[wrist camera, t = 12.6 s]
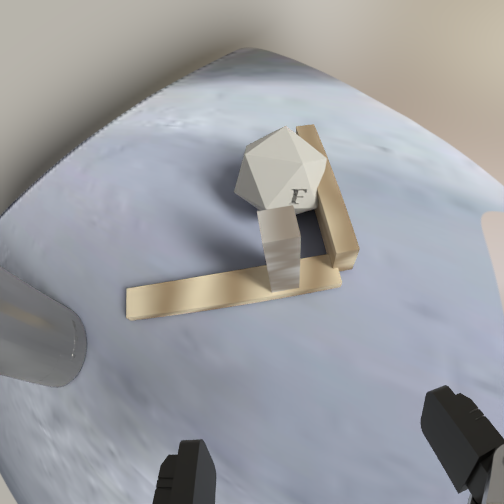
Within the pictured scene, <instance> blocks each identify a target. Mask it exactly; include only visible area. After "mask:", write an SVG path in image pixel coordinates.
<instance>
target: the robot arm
mask: <svg viewBox="0 0 504 504" xmlns="http://www.w3.org/2000/svg"><path fill="white" fill-rule="evenodd" d="M86 347H87V341H86V333H85V329H84V326H83V324H82V321H81V319H80V318H79V317H78V315H77V314H76V313H75V312H73V311H72V310H71V309H69V308H67V307H65V306H64V305H62V304H60V303H58V302H57V301H55V300H53V299H52V298H50V297H48V296H47V295H45V294H43V293H42V292H40V291H38V290H37V289H35V288H33V287H32V286H30V285H29V284H27V283H25V282H24V281H22V280H21V279H19V278H18V277H16V276H15V275H13V274H12V273H10V272H8V271H7V270H5V269H4V268H3V267H1V266H0V375H4V376H7V377H11V378H15V379H19V380H23V381H27V382H31V383H35V384H39V385H44V386H49V387H62V386H65V385H67V384H68V383H70V382H71V381H72V380H73V379H74V378H75V377H76V376H77V374H78V373H79V372H80V370H81V368H82V365H83V363H84V359H85V355H86ZM421 428H422V432H423V434H424V436H425V437H426V439H427V441H428V442H429V444H430V446H431V447H432V449H433V451H434V452H435V454H436V456H437V457H438V459H439V461H440V462H441V464H442V466H443V468H444V469H445V471H446V473H447V474H448V476H449V478H450V480H451V481H452V483H453V485H454V487H455V488H456V490H457V492H458V494H459V493H461V492H463V491H465V490H467V489H469V491H470V493H471V494H470V496H469V499H468V503H467V504H504V439H503V437H502V436H501V435H500V434H499V432H498V431H497V430H496V429H495V427H494V426H493V425H492V424H491V422H490V421H489V420H488V419H487V418H486V416H485V417H484V414H483V413H482V412H481V410H480V409H478V407H477V406H476V404H475V403H474V402H473V401H472V400H471V399H470V398H468V397H466V396H464V395H463V394H461V393H459V394H457V395H455V394H454V393H453V391H452V390H451V389H450V388H449V387H448V386H446V385H444V386H442V387H439V388H437V389H434V390H431V391H429V392H427V394H426V397H425V402H424V407H423V412H422V416H421ZM215 491H216V470H215V465H214V463H213V460H212V458H211V456H210V454H209V451H208V449H207V447H206V445H205V442H204V441H203V440H202V439H200V440H182V441H181V442H180V445H179V450H178V455H168V456H167V458H166V459H165V460H164V462H163V463H162V465H161V467H160V471H159V476H158V480H157V485H156V490H155V494H154V499H153V504H215Z"/></svg>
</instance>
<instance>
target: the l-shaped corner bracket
mask: <svg viewBox="0 0 504 504" xmlns="http://www.w3.org/2000/svg"><path fill="white" fill-rule="evenodd" d="M296 134H297V135H298V136H300V137H301V138H302V139H303V140H305V141H306V142H307V143H309V144H310V145H311V146H312V147H314V148H315V149H316V150H317V151H318V152H320V153H321V154H322V155H323V156H325V157H326V158H327V155H326V153H325V150H324V148H323V145H322V143H321V140H320V138H319V135H318V133H317V131H316V128H315V126H314V124H313V125H305V126H297V127H296ZM317 192H318V207H317V208H316V209H314V210H315V213H316V217H317V220H318V224H319V228H320V231H321V235H322V238H323V242H324V246H325V249H326V253H327V254H325V255H319V256H314V257H308V258H303V259H300V252H301V235H300V231H299V227H298V223H297V218H296V214H295V210H294V207H293V205H291V206H285V207H279V208H273V209H268V210H262V211H257V215H258V221H259V227H260V232H261V238H262V244H263V249H264V254H265V259H266V264H267V265H263V266H258V267H252V268H246V269H240V270H235V271H229V272H223V273H217V274H211V275H206V276H200V277H194V278H188V279H182V280H176V281H170V282H164V283H158V284H151V285H145V286H139V287H133V288H127V297H126V318H128V319H129V320H131V321H132V320H140V319H148V318H156V317H164V316H171V315H178V314H185V313H192V312H199V311H206V310H213V309H219V308H226V307H232V306H238V305H244V304H250V303H256V302H262V301H268V300H274V299H280V298H285V297H291V296H296V295H302V294H307V293H312V292H317V291H323V290H328V289H333V288H338V287H341V285H342V280H341V277H340V273H339V271H344V270H350V269H352V268H353V265H354V263H355V260H356V258H357V255H358V252H359V250H360V249H359V246H358V242H357V239H356V236H355V233H354V230H353V227H352V224H351V221H350V218H349V215H348V212H347V209H346V206H345V204H344V201H343V198H342V195H341V192H340V190H339V187H338V184H337V181H336V179H335V176H334V173H333V171H332V168H331V165H330V163H329V160H328V158H327V161H326V167H325V171H324V174H323V176H322V178H321V181H320V183H319V185H318V187H317Z"/></svg>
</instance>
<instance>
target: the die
mask: <svg viewBox="0 0 504 504" xmlns="http://www.w3.org/2000/svg"><path fill="white" fill-rule="evenodd" d="M326 161H327V158H326V157H325V156H323V155H322V154H321V153H320V152H318V151H317V150H316V149H315V148H314V147H312V146H311V145H310V144H309V143H307V142H306V141H305V140H303V139H302V138H301V137H300V136H298V135H297V134H296V133H294V132H293V131H292V130H290V129H289V128H288V127H287V126H284V127H282V128H280V129H278V130H276V131H274V132H272V133H270V134H268V135H266V136H264V137H263V138H261V139H259V140H257V141H255V142H253V143H251V144H249V145H247V146H246V149H245V153H244V156H243V160H242V164H241V168H240V171H239V175H238V179H237V183H236V186H235V190H234V193H236V194H237V195H238V196H240V197H241V198H243V199H244V200H246V201H247V202H249V203H250V204H251V205H253V206H254V207H256V208H257V209H259V210H260V211H262V210H268V209H273V208H279V207H285V206H291V205H293V207H294V210H295V214H299V213H303V212H306V211H309V210H312V209H316V208H317V207H318V192H317V187H318V185H319V183H320V181H321V178H322V176H323V174H324V171H325V167H326Z"/></svg>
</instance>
